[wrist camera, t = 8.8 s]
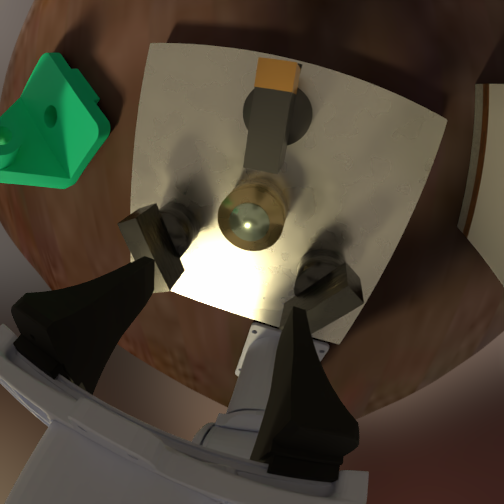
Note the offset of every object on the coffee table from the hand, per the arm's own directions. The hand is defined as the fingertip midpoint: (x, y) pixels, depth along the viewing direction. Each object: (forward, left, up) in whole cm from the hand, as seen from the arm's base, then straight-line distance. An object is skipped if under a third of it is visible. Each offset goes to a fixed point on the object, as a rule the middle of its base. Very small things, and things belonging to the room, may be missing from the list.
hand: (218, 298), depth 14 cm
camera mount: (+6, +20, -10) cm, 23 cm away
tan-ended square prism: (+8, 0, -7) cm, 11 cm away
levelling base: (+2, 0, -9) cm, 10 cm away
